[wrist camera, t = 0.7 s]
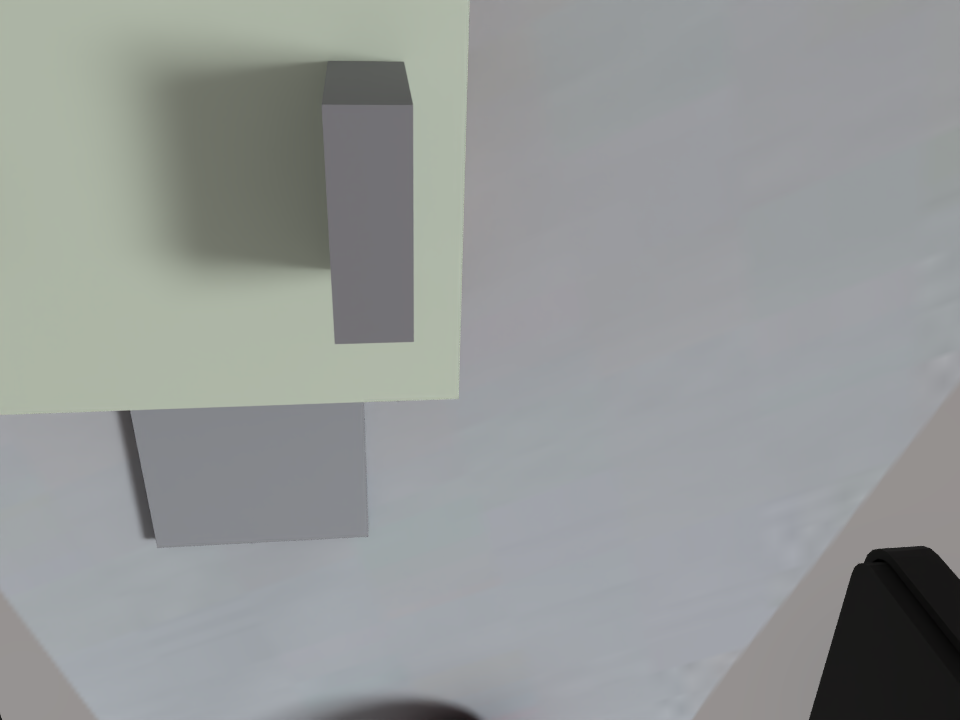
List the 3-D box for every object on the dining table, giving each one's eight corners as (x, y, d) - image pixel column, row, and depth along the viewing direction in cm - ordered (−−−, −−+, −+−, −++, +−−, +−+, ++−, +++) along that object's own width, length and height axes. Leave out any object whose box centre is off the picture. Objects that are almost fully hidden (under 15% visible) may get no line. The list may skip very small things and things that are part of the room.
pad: (125, 360, 34) (121, 368, 33) (361, 353, 35) (361, 361, 34) (160, 538, 38) (157, 548, 38) (368, 527, 39) (368, 536, 39)
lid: (-200, -167, 20) (-371, -170, 15) (468, -141, 22) (498, -137, 17) (-27, 398, 28) (-106, 511, 23) (455, 382, 30) (474, 484, 25)
